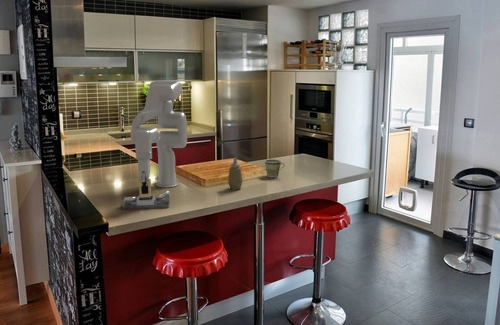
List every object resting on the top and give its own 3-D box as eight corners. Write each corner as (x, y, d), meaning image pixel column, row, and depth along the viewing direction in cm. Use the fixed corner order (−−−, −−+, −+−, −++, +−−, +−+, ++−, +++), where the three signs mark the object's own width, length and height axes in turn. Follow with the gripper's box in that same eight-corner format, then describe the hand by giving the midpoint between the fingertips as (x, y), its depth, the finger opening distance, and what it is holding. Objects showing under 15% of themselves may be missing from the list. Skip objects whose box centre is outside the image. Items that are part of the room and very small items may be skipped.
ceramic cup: (262, 177, 274) (262, 161, 272) (268, 173, 283) (269, 158, 281) (280, 179, 268) (281, 163, 266) (287, 176, 277) (287, 160, 275)
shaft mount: (121, 209, 208) (121, 194, 206) (124, 203, 217) (123, 189, 215) (170, 207, 211) (169, 193, 210) (170, 202, 220) (170, 188, 219)
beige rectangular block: (139, 197, 210) (139, 181, 208) (140, 194, 215) (140, 178, 213) (150, 197, 211) (149, 181, 209) (151, 194, 216) (150, 178, 214)
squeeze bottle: (242, 186, 251) (242, 156, 247) (242, 190, 243) (242, 159, 239) (228, 186, 250) (228, 156, 247) (228, 190, 242) (227, 158, 239)
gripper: (137, 152, 216) (139, 188, 220) (134, 159, 200) (135, 197, 204) (153, 152, 218) (154, 187, 221) (150, 158, 201) (152, 196, 205)
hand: (145, 191), depth 212 cm, fingers closed on beige rectangular block, 5 cm apart
